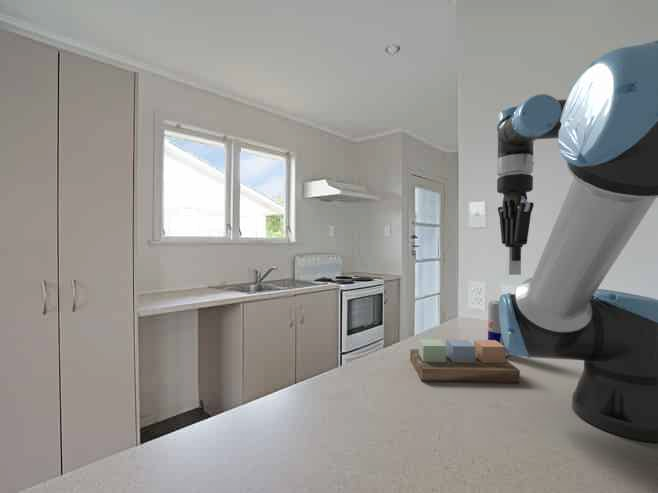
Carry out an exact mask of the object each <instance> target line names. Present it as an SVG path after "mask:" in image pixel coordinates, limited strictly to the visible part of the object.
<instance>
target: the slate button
mask: <svg viewBox="0 0 658 493" xmlns="http://www.w3.org/2000/svg"><path fill="white" fill-rule="evenodd" d="M445 345H446V355H447V357H448V358H449V359H450V360H451V361H452V362H453V363H475V351H476V346H474V343H472V342H471V341H469V339H446V340H445Z"/></svg>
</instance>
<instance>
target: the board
mask: <svg viewBox="0 0 658 493" xmlns="http://www.w3.org/2000/svg"><path fill="white" fill-rule="evenodd" d="M409 357H410V359H409V360H410V362H411V364H412V366H413V368H414V369H415V371H416V374H417V376H418V377H419V379H420V381H421V382H424V383H425V382H427V383H431V382H433V383H475V384H476V383H477V384H478V383H481V384H485V383H486V384H488V383H489V384H520V382H521V380H520V379H521V378H520V377H521V376H520V372H521V371H520V369H518V368H517V367H516V366H515V365H513V364H512V363H511V362H509V361H508V360H506V359H505V363H482V362H480V361H479V360H478V359H477V358H476V357H475V363H453V362H452V361H451V360H450V359H449V358H448V357H447V355H446V362H423V361H422V359H421V358H420V356H419V348H418V349H416V348H410V356H409Z"/></svg>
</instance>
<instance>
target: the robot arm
mask: <svg viewBox="0 0 658 493" xmlns="http://www.w3.org/2000/svg"><path fill="white" fill-rule="evenodd" d="M496 129H497V159H496V161H497V162H496V175H497V176H498V178H497V179H496V185H497V186H496V187H497V188H496V191H497V193H499V194H503V199H502V206H498V207H497V211H498V212H497V213H498V216H499V227H500V237H501V244H502V245H504V246H505V247H506V253H505V254H506V257H505V258H506V261H505V262H506V263H505V264H506V265H505V271H506V272H505V274H506V275H511V276H512V275H517V276H518V275H522V274H521V273H522V248H523V246H525V245H527V243H528V238H529V230H530V225H531V224H530V223H531V218H532V217H531V216H532V211H533V208H534V202H530V201H528V195H527V193H530V192H532V191H533V189H534V177H533V175H532V173H533V171H534V170H533V169H534V164H535V162H534V142H535V141H536V140H547V139H557V144H558V149H559V150H558V151H559V153H560V154H561V157H562V158H563V159H564V160H565V161H566V168H567V171H568V172H569V173H570V174H571V175H572V176H573V180H572V182H571V183H570V186H569V189H568V192H567V193H566V197H565V199H564V201H563V203H562V205H561V208H560V210H559V212H558V216H557V217H556V220H555V223H554V225H553V226H552V229H551V232H550V235H549V237H548V240H547V242H546V243H545V246H544V249H543V250H542V254H541V256H540V259H539V260H538V263H537V265H536V267H535V271H534V273H533V276H532V277H530V278H528V279H526V280H524V281H523V282H521V283H520V284H519V286H518V287H517V289H516V292H515V293H514V294H513V293H511V292H508V293H504V294H501V295H500V297H499V299H498V301H499V320H500V327H501V333H502V338H503V342H504V345H505V347H506V349H507V351H508V352H509V353H510V355H512V356H518V357H526V358H528V359H531V358H535V359H551V360H552V359H553V360H568V361H569V360H570V361H571V360H572V361H583V370H582V372H581V375H580V377H579V380H578V381H577V384H576V387H575V390H574V391H573V393H572V397H571V398H572V399H571V408H572V410H573V412H574V413H575V414H576V415H577V416H578V417H579V418H581V419H582V420H583V421H585V422H587V423H589V424H590V425H592V426H594V427H596V428H599V429H601V430H604V431H607V432H609V433H612V434H615V435H617V436H621V437H625V438H628V439H633V440H638V441H643V442H650V443H651V442H652V443H658V299H657V298H653V297H650V296H644V295H639V294H632V293H628V292H624V291H623V292H622V291H617V290H610V289H602V288H599V287H600V286H601V284H602V282H604V280H605V278H606V277H607V275H608V274H609V272H610V270H611V268H612V266H613V265H614V263H615V262H616V261H617V260H618V258H619V256H620V255H621V253H622V251H623V250H624V248H625V247H626V245H627V244H628V242H629V241H630V239H631V237H632V236H633V235H634V233H635V231H636V230H637V228H638V227H639V225H640V223H641V222H642V220H643V219H644V218H645V216H646V215H647V213H648V211H649V210H650V208H651V206H652V205H653V203H654V202H655V200H656V199H657V198H658V39H657V40H653V41H650V42H646V43H644V44H637V45H630V46H624V47H620V48H615V49H612V50H610V51H608V52H606V53H604V54H603V55H601V56H599V58H597V59H596V60H595V61H593V62H592V63H591V64H589V65H588V66H587V68H586V69H585V70H584V71H583V72H582V74H581V75H580V76H579V77H578V79H577V80H576V82H575V83H574V85H573V87H572V89H571V90H570V92H569V95H568V96H567V98H566V99H557V98H556V97H554V96H551V95H549V94H545V93H543V94H542V93H541V94H540V93H539V94H536V95H533V96H531V97H529V98H527V99H526V100H525V101H524V102H522V103H521V104H519V105H517V106H512V107H508V108H506V109H504V110H501V112H500V113H499V115H498V119H497V127H496Z"/></svg>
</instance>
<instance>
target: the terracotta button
mask: <svg viewBox="0 0 658 493" xmlns="http://www.w3.org/2000/svg"><path fill="white" fill-rule="evenodd" d="M473 345H474V346H476V351H475V357H476V358H477V359H478V360H479V361H480V362H482V363H505V360H506V356H505V346H503V345H502V344H500V343H499V342H497V341H496V340H488V339H473Z"/></svg>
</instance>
